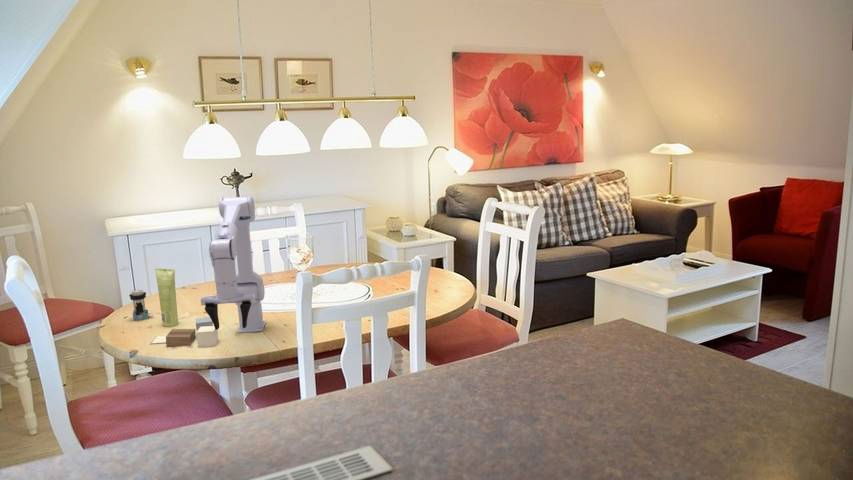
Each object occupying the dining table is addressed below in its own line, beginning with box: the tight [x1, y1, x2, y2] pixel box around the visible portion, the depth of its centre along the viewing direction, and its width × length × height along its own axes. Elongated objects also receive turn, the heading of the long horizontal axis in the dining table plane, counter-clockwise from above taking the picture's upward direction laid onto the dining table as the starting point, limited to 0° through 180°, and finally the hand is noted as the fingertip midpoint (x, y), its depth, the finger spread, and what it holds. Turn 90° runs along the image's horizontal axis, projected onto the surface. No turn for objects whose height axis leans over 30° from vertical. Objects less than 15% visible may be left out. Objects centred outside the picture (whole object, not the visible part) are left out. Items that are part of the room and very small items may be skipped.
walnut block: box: [165, 328, 197, 347], centre depth 206 cm, size 7×7×3 cm
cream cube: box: [196, 325, 219, 348], centre depth 204 cm, size 5×5×5 cm
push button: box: [128, 289, 154, 321], centre depth 230 cm, size 7×5×10 cm
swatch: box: [149, 335, 167, 346], centre depth 209 cm, size 7×7×1 cm
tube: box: [154, 267, 179, 328], centre depth 222 cm, size 6×5×20 cm
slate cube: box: [195, 316, 214, 332], centre depth 212 cm, size 5×5×5 cm
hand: (231, 327), depth 188 cm, fingers open, 7 cm apart
